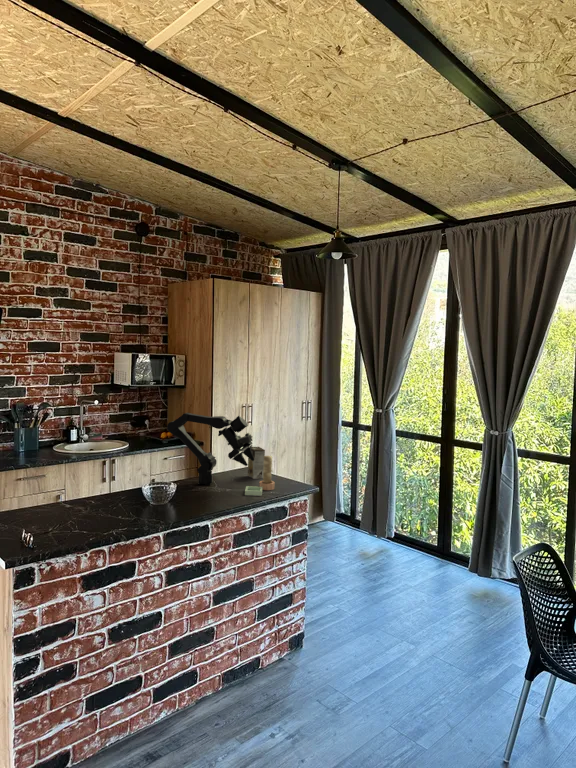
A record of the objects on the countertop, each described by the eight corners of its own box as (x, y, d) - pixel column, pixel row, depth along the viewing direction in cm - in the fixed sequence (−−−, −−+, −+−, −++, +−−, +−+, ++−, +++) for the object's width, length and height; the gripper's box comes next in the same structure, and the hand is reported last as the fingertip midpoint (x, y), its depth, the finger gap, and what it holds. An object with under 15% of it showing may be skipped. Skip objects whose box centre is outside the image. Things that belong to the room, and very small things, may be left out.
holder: (259, 490, 266) (259, 483, 265) (259, 486, 273) (260, 479, 273) (274, 491, 266) (274, 484, 265) (274, 487, 273) (274, 480, 273)
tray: (244, 496, 256) (245, 490, 256) (246, 491, 264) (246, 486, 264) (261, 496, 256) (261, 491, 256) (262, 491, 264) (262, 486, 264)
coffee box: (247, 475, 294) (248, 446, 293) (258, 474, 297) (258, 446, 296) (253, 479, 286) (254, 450, 285) (264, 479, 289) (265, 449, 287)
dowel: (262, 488, 268) (263, 457, 266) (263, 486, 272) (264, 455, 270) (270, 489, 268) (271, 457, 266) (271, 487, 272) (272, 455, 270)
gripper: (236, 433, 259) (255, 459, 258) (250, 425, 277) (268, 449, 276) (219, 445, 263) (238, 471, 262) (235, 436, 280) (252, 461, 279)
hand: (250, 462), depth 269 cm, fingers open, 9 cm apart
